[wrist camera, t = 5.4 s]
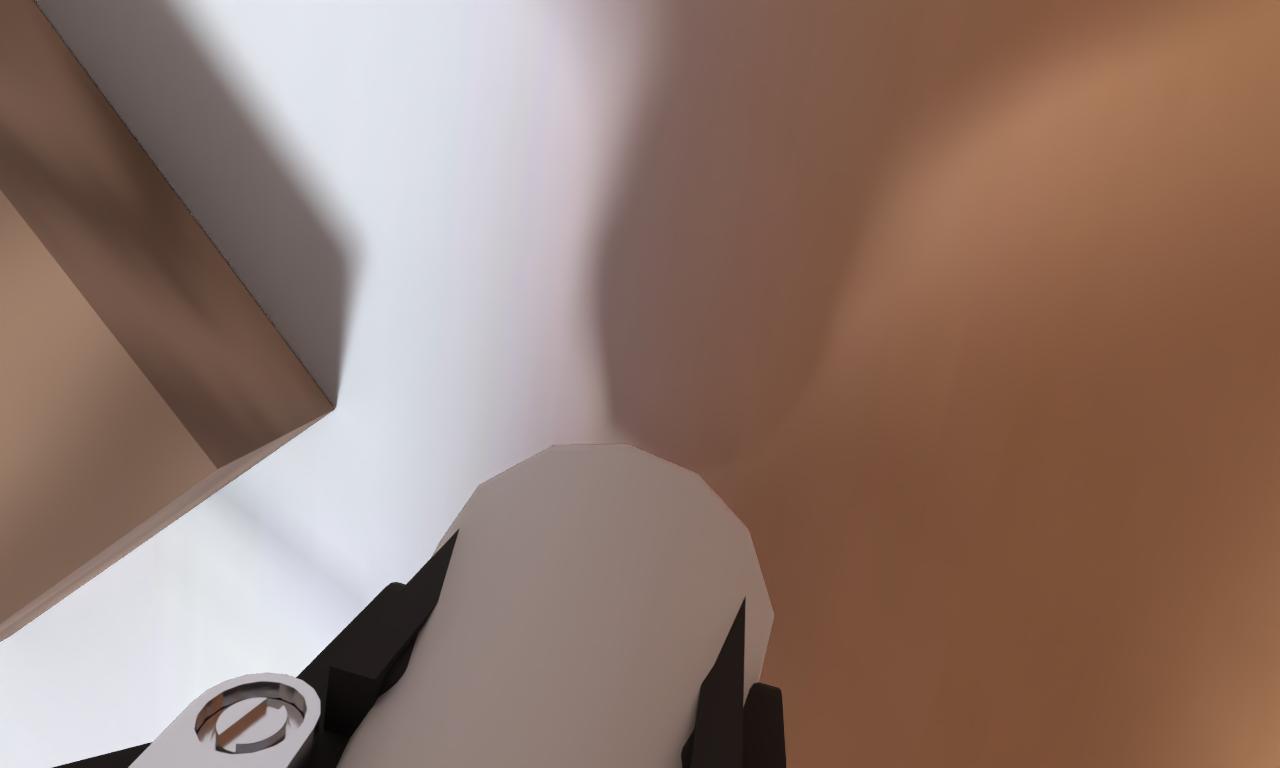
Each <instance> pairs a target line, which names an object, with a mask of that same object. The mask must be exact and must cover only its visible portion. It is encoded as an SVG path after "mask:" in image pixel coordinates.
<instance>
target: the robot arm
mask: <svg viewBox="0 0 1280 768" xmlns="http://www.w3.org/2000/svg"><path fill="white" fill-rule="evenodd" d="M459 529H460V528H459ZM459 529H458V530H457V531H456V532H455V533H454V534H453V535H452V536H451V538H450V539H449V540H448V541H447V542H446V543H445V544H444V545H443V546H442V547H441V548H440V549H439V550H438V551H437V552H436V554H435V555H434V556H433V557H432V558H431V559H430V560H429V561H428V562H427V563H426V564H425V565H424V566H423V567H422V568H421V569H420V571H419V572H418V573H417V574H416V575H415V576H414V577H413V578H412V579H411V580H410V581H409V582H408V583H407V584H406V585H405V584H402V583H398V582H393V583H391V584H389V585H388V586H387V587H385V588H384V589H383V590H382V591H381V592H380V593H379V594H378V595H377V596H376V597H375V598H374V599H373V601H372V602H371V603H370V604H369V605H368V606H367V607H366V608H365V609H364V610H363V611H362V612H361V613H360V614H359V615H358V616H357V617H356V618H355V619H354V620H353V621H352V622H351V623H350V624H349V625H348V626H347V627H346V628H345V629H344V630H343V631H342V632H341V633H340V634H339V635H338V636H337V637H336V638H335V639H334V640H333V641H332V642H331V643H330V644H329V645H328V646H327V647H326V648H325V649H324V650H323V651H322V652H321V653H320V654H319V655H318V656H317V657H316V658H315V659H314V660H313V661H312V662H311V663H310V664H309V665H308V666H307V667H306V668H305V669H304V670H303V671H302V672H301V673H300V674H299V675H298V676H297V677H296V678H295V677H292V676H289V675H286V674H276V673H260V674H250V675H244V676H241V677H237V678H234V679H230V680H227V681H224V682H222V683H220V684H218V685H216V686H214V687H212V688H210V689H208V690H207V691H205V692H204V693H203V694H202V695H200V696H199V697H198V698H197V699H195V700H194V701H193V702H192V703H191V704H190V705H189V706H188V707H187V708H186V709H185V710H184V711H183V712H182V713H181V714H180V715H179V716H178V717H177V718H176V719H175V720H174V721H173V722H172V723H171V724H170V725H169V726H168V727H167V728H166V729H165V730H164V731H163V732H162V733H161V734H160V735H159V736H158V737H157V738H156V739H155V740H154V741H153V742H151V743H147V744H143V745H139V746H135V747H131V748H127V749H124V750H120V751H116V752H112V753H108V754H104V755H100V756H96V757H92V758H88V759H84V760H80V761H77V762H73V763H69V764H65V765H61V766H57V767H53V768H336V767H337V765H338V763H339V761H340V759H341V756H342V754H343V752H344V750H345V748H346V746H347V744H348V742H349V739H350V738H351V736H352V735H353V733H354V732H355V731H356V729H357V728H358V726H359V725H360V724H361V722H362V721H363V719H364V718H365V717H366V715H367V714H368V712H369V711H370V710H371V709H372V707H373V706H374V704H375V702H376V701H377V699H378V697H380V696H381V695H383V694H384V693H385V692H387V691H388V690H389V689H391V688H392V687H393V686H394V685H395V684H396V683H397V682H398V681H399V680H400V679H401V677H402V676H403V675H404V673H405V671H406V669H407V667H408V664H409V661H410V658H411V654H412V651H413V648H414V645H415V642H416V639H417V635H418V632H419V631H420V630H421V628H422V627H423V625H424V624H425V622H426V621H427V619H428V617H429V616H430V614H431V613H432V611H433V609H434V608H435V606H436V604H437V603H438V600H439V597H440V594H441V590H442V587H443V583H444V580H445V576H446V573H447V570H448V566H449V563H450V559H451V556H452V553H453V549H454V546H455V542H456V539H457V535H458V532H459ZM745 603H746V596H745V598H744V600H743V602H742V604H741V607H740V609H739V611H738V613H737V615H736V618H735V620H734V622H733V624H732V626H731V629H730V631H729V633H728V635H727V637H726V640H725V642H724V644H723V646H722V648H721V651H720V653H719V655H718V657H717V659H716V662H715V664H714V666H713V667H712V669H711V670H710V672H709V673H708V675H707V676H706V678H705V679H704V681H703V682H702V684H701V688H700V695H699V702H698V709H697V715H696V723H695V727H694V730H693V732H692V733H691V735H690V737H689V738H688V740H687V742H686V743H685V745H684V746H683V748H682V752H681V760H682V768H786V755H785V739H784V722H783V705H782V694H781V690H780V689H779V688H777V687H773V686H770V685H766V684H762V683H759V682H757V683H753V685H752V686H751V688H750V689H749V692H748V695H747V698H746V701H745V704H744V707H743V701H744V652H745Z"/></svg>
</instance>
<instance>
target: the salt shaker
mask: <svg viewBox="0 0 1280 768" xmlns="http://www.w3.org/2000/svg"><path fill="white" fill-rule="evenodd" d="M459 528H460V529H459ZM458 529H459V532H458V535H457V539H456V542H455V546H454V549H453V553H452V556H451V559H450V563H449V566H448V570H447V573H446V576H445V580H444V583H443V587H442V590H441V594H440V597H439V600H438V603H437V604H436V606H435V608H434V609H433V611H432V613H431V614H430V616H429V617H428V619H427V621H426V622H425V624H424V625H423V627H422V628H421V630H420V631H419V632H418V635H417V639H416V642H415V645H414V648H413V651H412V654H411V658H410V661H409V664H408V667H407V669H406V671H405V673H404V675H403V676H402V677H401V679H400V680H399V681H398V682H397V683H396V684H395V685H394V686H393V687H392V688H391V689H389V690H388V691H387V692H385V693H384V694H383V695H381V696H380V697H378V699H377V701H376V702H375V704H374V706H373V707H372V709H371V710H370V711H369V712H368V714H367V715H366V717H365V718H364V719H363V721H362V722H361V724H360V725H359V726H358V728H357V729H356V731H355V732H354V733H353V735H352V736H351V738H350V739H349V742H348V744H347V746H346V748H345V750H344V752H343V754H342V756H341V759H340V761H339V763H338V765H337V767H336V768H682V760H681V752H682V748H683V746H684V745H685V743H686V742H687V740H688V738H689V737H690V735H691V733H692V732H693V730H694V727H695V723H696V715H697V709H698V702H699V695H700V688H701V684H702V682H703V681H704V679H705V678H706V676H707V675H708V673H709V672H710V670H711V669H712V667H713V666H714V664H715V662H716V659H717V657H718V655H719V653H720V651H721V648H722V646H723V644H724V642H725V640H726V637H727V635H728V633H729V631H730V629H731V626H732V624H733V622H734V620H735V618H736V615H737V613H738V611H739V609H740V607H741V604H742V602H743V600H744V598H745V596H746V603H745V652H744V701H743V707H744V704H745V701H746V698H747V695H748V692H749V689H750V688H751V686H752V685H753V683H757V682H759V680H760V676H761V671H762V667H763V663H764V659H765V654H766V650H767V646H768V642H769V638H770V633H771V629H772V625H773V621H774V612H773V609H772V605H771V602H770V599H769V595H768V592H767V588H766V585H765V582H764V578H763V575H762V572H761V568H760V565H759V561H758V558H757V555H756V551H755V548H754V545H753V541H752V538H751V534H750V531H749V529H748V528H747V527H746V526H745V525H744V523H743V522H742V521H741V520H740V519H739V518H738V517H737V516H736V515H735V514H734V513H733V511H732V510H731V509H730V508H729V507H728V506H727V505H726V504H725V503H724V502H723V500H722V499H721V498H720V497H719V496H718V495H717V494H716V493H715V492H714V491H713V490H712V488H711V487H710V486H709V485H708V484H707V483H706V482H705V481H704V480H703V479H702V477H701V476H700V475H699V474H697V473H695V472H693V471H691V470H688V469H686V468H684V467H681V466H679V465H676V464H674V463H672V462H669V461H667V460H665V459H662V458H660V457H658V456H655V455H653V454H651V453H648V452H646V451H644V450H641V449H639V448H637V447H634V446H632V445H630V444H587V445H553V446H551V447H549V448H547V449H545V450H543V451H541V452H540V453H538V454H536V455H534V456H532V457H530V458H528V459H526V460H525V461H523V462H521V463H519V464H517V465H515V466H513V467H512V468H510V469H508V470H506V471H504V472H502V473H500V474H498V475H497V476H495V477H493V478H491V479H489V480H488V481H486V482H484V483H482V484H480V485H479V486H478V487H477V489H476V490H475V491H474V493H473V494H472V496H471V497H470V499H469V500H468V502H467V503H466V505H465V506H464V507H463V509H462V510H461V512H460V513H459V515H458V516H457V518H456V519H455V521H454V522H453V524H452V525H451V526H450V528H449V529H448V531H447V532H446V534H445V535H444V537H443V538H442V540H441V541H440V542H439V544H438V546H437V548H436V550H435V552H434V554H433V556H434V555H435V554H436V552H437V551H438V550H439V549H440V548H441V547H442V546H443V545H444V544H445V543H446V542H447V541H448V540H449V539H450V538H451V536H452V535H453V534H454V533H455V532H456V531H457V530H458ZM433 556H432V557H433Z"/></svg>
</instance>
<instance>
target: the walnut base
mask: <svg viewBox="0 0 1280 768" xmlns="http://www.w3.org/2000/svg"><path fill="white" fill-rule="evenodd" d="M334 409H335V408H334V407H333V406H332V404H331V403H330V402H329V400H328V399H327V398H326V396H325V395H324V394H323V392H322V391H321V389H320V388H319V387H318V385H317V384H316V383H315V381H314V380H313V379H312V377H311V376H310V375H309V373H308V372H307V371H306V369H305V368H304V366H303V365H302V364H301V362H300V361H299V360H298V358H297V357H296V356H295V354H294V353H293V352H292V350H291V349H290V348H289V346H288V345H287V343H286V342H285V341H284V339H283V338H282V337H281V335H280V334H279V333H278V331H277V330H276V329H275V327H274V326H273V325H272V323H271V322H270V320H269V319H268V318H267V316H266V315H265V314H264V312H263V311H262V310H261V308H260V307H259V306H258V304H257V303H256V302H255V300H254V299H253V297H252V296H251V295H250V293H249V292H248V291H247V289H246V288H245V287H244V285H243V284H242V283H241V281H240V280H239V278H238V277H237V276H236V274H235V273H234V272H233V270H232V269H231V268H230V266H229V265H228V264H227V262H226V261H225V260H224V258H223V257H222V255H221V254H220V253H219V251H218V250H217V249H216V247H215V246H214V245H213V243H212V242H211V241H210V239H209V238H208V237H207V235H206V234H205V232H204V231H203V230H202V228H201V227H200V226H199V224H198V223H197V222H196V220H195V219H194V218H193V216H192V215H191V214H190V212H189V211H188V209H187V208H186V207H185V205H184V204H183V203H182V201H181V200H180V199H179V197H178V196H177V195H176V193H175V192H174V191H173V189H172V188H171V186H170V185H169V184H168V182H167V181H166V180H165V178H164V177H163V176H162V174H161V173H160V172H159V170H158V169H157V168H156V166H155V165H154V163H153V162H152V161H151V159H150V158H149V157H148V155H147V154H146V153H145V151H144V150H143V149H142V147H141V146H140V145H139V143H138V142H137V140H136V139H135V138H134V136H133V135H132V134H131V132H130V131H129V130H128V128H127V127H126V126H125V124H124V123H123V121H122V120H121V119H120V117H119V116H118V115H117V113H116V112H115V111H114V109H113V108H112V107H111V105H110V104H109V103H108V101H107V100H106V98H105V97H104V96H103V94H102V93H101V92H100V90H99V89H98V88H97V86H96V85H95V84H94V82H93V81H92V80H91V78H90V77H89V75H88V74H87V73H86V71H85V70H84V69H83V67H82V66H81V65H80V63H79V62H78V61H77V59H76V58H75V57H74V55H73V54H72V52H71V51H70V50H69V48H68V47H67V46H66V44H65V43H64V42H63V40H62V39H61V38H60V36H59V35H58V34H57V32H56V31H55V29H54V28H53V27H52V25H51V24H50V23H49V21H48V20H47V19H46V17H45V16H44V15H43V13H42V12H41V11H40V9H39V8H38V6H37V5H36V4H35V2H34V1H33V0H0V642H1V641H3V640H4V639H6V638H8V637H9V636H11V635H12V634H14V633H15V632H16V631H18V630H19V629H21V628H22V627H24V626H25V625H26V624H28V623H29V622H31V621H32V620H34V619H35V618H36V617H38V616H39V615H41V614H42V613H44V612H45V611H47V610H48V609H49V608H51V607H52V606H54V605H55V604H57V603H58V602H59V601H61V600H62V599H64V598H65V597H67V596H68V595H69V594H71V593H72V592H74V591H75V590H77V589H78V588H79V587H81V586H82V585H84V584H85V583H87V582H88V581H89V580H91V579H92V578H94V577H95V576H97V575H98V574H100V573H101V572H102V571H104V570H105V569H107V568H108V567H110V566H111V565H112V564H114V563H115V562H117V561H118V560H120V559H121V558H122V557H124V556H125V555H127V554H128V553H130V552H131V551H132V550H134V549H135V548H137V547H138V546H140V545H141V544H143V543H144V542H145V541H147V540H148V539H150V538H151V537H153V536H154V535H155V534H157V533H158V532H160V531H161V530H163V529H164V528H165V527H167V526H168V525H170V524H171V523H173V522H174V521H175V520H177V519H178V518H180V517H181V516H183V515H184V514H185V513H187V512H188V511H190V510H191V509H193V508H194V507H196V506H197V505H198V504H200V503H201V502H203V501H204V500H206V499H207V498H208V497H210V496H211V495H213V494H214V493H216V492H217V491H218V490H220V489H221V488H223V487H224V486H226V485H227V484H228V483H230V482H231V481H233V480H234V479H236V478H237V477H238V476H240V475H241V474H243V473H244V472H246V471H247V470H249V469H250V468H251V467H253V466H254V465H256V464H257V463H259V462H260V461H261V460H263V459H264V458H266V457H267V456H269V455H270V454H271V453H273V452H274V451H276V450H277V449H279V448H280V447H281V446H283V445H284V444H286V443H287V442H289V441H290V440H291V439H293V438H294V437H296V436H297V435H299V434H300V433H302V432H303V431H304V430H306V429H307V428H309V427H310V426H312V425H313V424H314V423H316V422H317V421H319V420H320V419H322V418H323V417H324V416H326V415H327V414H329V413H330V412H332V411H333V410H334Z"/></svg>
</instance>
